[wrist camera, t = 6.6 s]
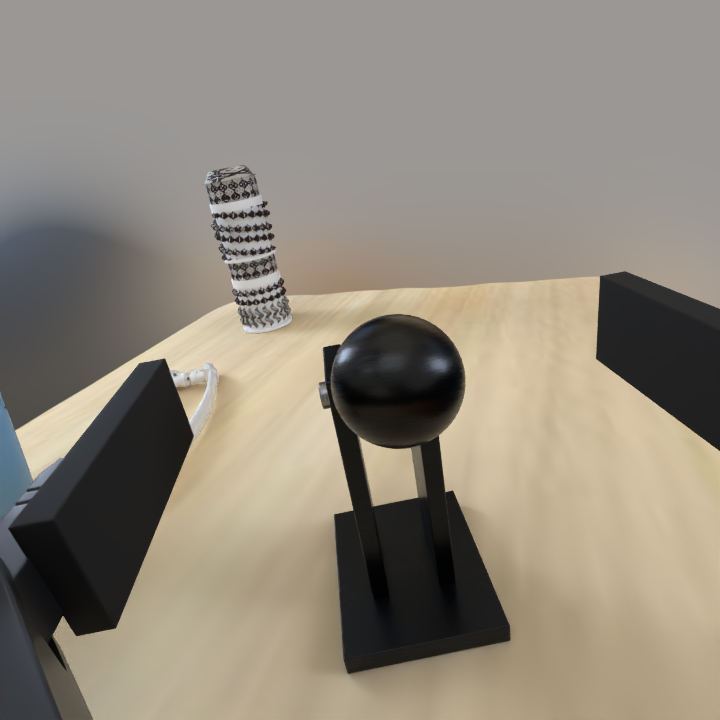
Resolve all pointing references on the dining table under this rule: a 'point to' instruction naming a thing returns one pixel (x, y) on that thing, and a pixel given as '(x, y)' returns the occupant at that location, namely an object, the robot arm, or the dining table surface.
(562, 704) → the dining table surface
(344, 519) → the bracket
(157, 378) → the robot arm
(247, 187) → the decorative candle
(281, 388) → the dining table surface
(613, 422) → the dining table surface
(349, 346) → the lever
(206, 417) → the door handle
